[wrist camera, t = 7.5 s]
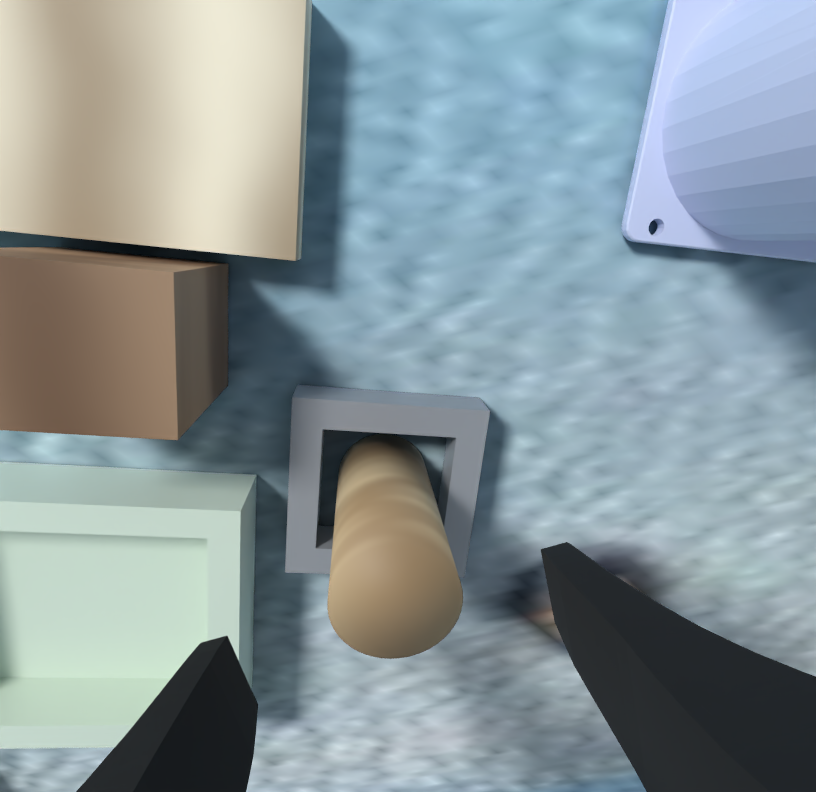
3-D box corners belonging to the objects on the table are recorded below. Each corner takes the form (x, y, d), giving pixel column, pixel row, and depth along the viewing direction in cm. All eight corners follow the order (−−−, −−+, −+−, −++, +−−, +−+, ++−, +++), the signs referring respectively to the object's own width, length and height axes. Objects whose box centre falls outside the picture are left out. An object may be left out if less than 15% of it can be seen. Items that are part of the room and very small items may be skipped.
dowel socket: (479, 397, 18) (490, 411, 17) (456, 553, 20) (464, 577, 18) (297, 384, 17) (292, 397, 16) (290, 547, 19) (285, 572, 18)
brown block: (228, 263, 16) (173, 272, 11) (227, 385, 17) (177, 440, 12) (58, 247, 15) (-76, 248, 11) (69, 374, 17) (-48, 427, 12)
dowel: (430, 436, 18) (471, 546, 12) (420, 515, 19) (453, 659, 13) (341, 431, 18) (331, 541, 11) (335, 511, 19) (323, 658, 12)
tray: (256, 474, 18) (240, 511, 16) (252, 686, 21) (237, 746, 18) (-84, 457, 17) (-160, 494, 14) (-42, 685, 20) (-100, 749, 17)
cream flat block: (313, 10, 15) (306, -24, 13) (302, 258, 17) (295, 260, 15) (-66, -51, 14) (-136, -99, 12) (-30, 224, 16) (-84, 221, 14)
